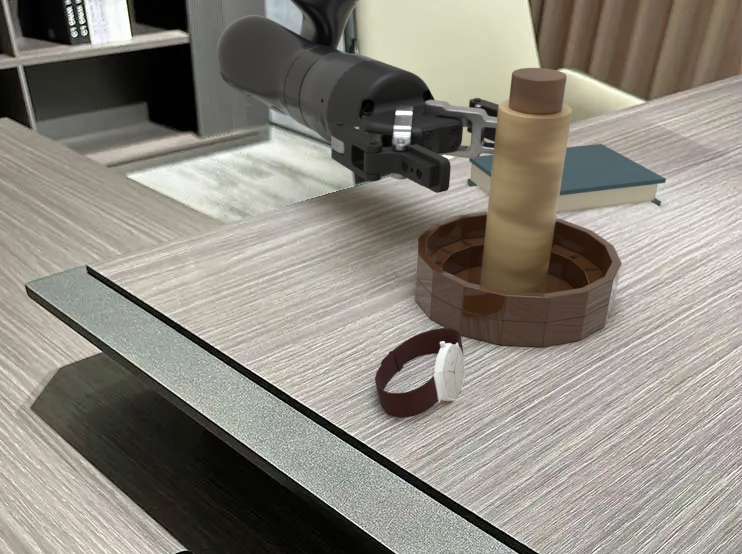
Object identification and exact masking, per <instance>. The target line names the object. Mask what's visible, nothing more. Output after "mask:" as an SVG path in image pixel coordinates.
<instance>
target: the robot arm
mask: <svg viewBox="0 0 742 554" xmlns="http://www.w3.org/2000/svg"><path fill="white" fill-rule="evenodd" d="M290 2H291V3H292V4H293V5H294V6H295V7H296V8H297V9H298V11H300V13H301V16H302V19H301V26H300V31H299V34H298V33H297V32H295V31H294V30H292V29H290V28H288V27H286V26H284V25H283V24H281V23H279V22H277V21H275V20H273V19H271V18H269V17H266V16H265V15H264V16H263V15H259V14H249V15H244V16H242V17H239V18H237V19H235V20H234V21H232V22H231V23H229V25H227V27H226V28H225V29H224V30H223V32H222V33H221V34H220V37H219V39H218V41H217V45H216V50H215V61H216V67H217V71H218V73H219V75H220V76H221V78H222V80H223V81H224V82H225V83H226V85H228V86H229V87H231V88H232V89H234V90H236V91H237V92H239V93H241V94H243V95H245V96H247V97H248V98H251V99H252V100H254V101H256V102H257V103H259V104H261V105H263V106H265V107H267V108H268V109H270V110H272V111H273V112H276V113H278V114H279V115H282V116H285V117H286V116H287V117H289V118H291V119H292V120H294V122H296V123H298V124H300V125H302V126H303V127H305V128H307V129H309V130H311V131H313V132H315V133H317V134H318V135H319V136H320V137H321V138H322V139H324V140H325V141H326V142H328V143H330V145H331V146H330V147H331V148H330V149H331V151H330V153H331V154H330V155H331V156H330V157H331V159H332V160H333V161H335V162H337V163H338V164H340V165H341V166H342V167H345V168H346V169H347V170H349V171H350V172H352V173H353V174H355V175H357V176H359V177H360V178H361V179H363V180H365V181H368V182H378V181H381V180H382V174H390V178H392V179H395V180H401V181H402V180H406V179H408V180H409V181H410V182H414V183H416V184H417V185H419V186H421V187H424V188H426V189H428V190H430V191H432V192H434V193H436V194H439V193H444V192H447V191H448V190H449V189H450V182H451V181H450V180H451V170H452V169H451V168H452V167H451V162H450V160H449V158H448V157H446V156H450V157H456V158H457V157H458V158H466V159H469V158H473V159H475V158H478V157H479V156H481V155H482V154H486V155H493V153H494V144H495V134H496V124H497V115H498V106H499V104H498V103H495V102H492V101H488V100H487V99H482V98H480V97H474V98H471V99H469V103H468V106H460V105H452V104H450V103H449V102H448V101H445V100H437V99H435V97H434V96H433V94H432V92H431V90H430V88H429V86H428V85H427V83H426V81H424V80H423V79H422V78H421V77H420V76H419V75H417V74H415V73H414V72H411V71H409V70H406V69H403V68H401V67H397V66H395V65H391V64H389V63H386V62H384V61H380V60H378V59H374V58H372V57H370V56H366V55H363V54H357V53H349V52H346V51H342V50H340V49H338V48H339V45H340V43H341V39H342V37H343V34H344V32H345V30H346V29H345V28H346V26H347V23H348V21H349V18H350V16H351V14H352V12H353V11H354V9H355V8H356V7H357V4H358V3H360V0H290ZM464 128H466V132H467V133H470V134H471V135H470V136H471V137H470V144H469V145H463V144H462V142H463V132H464ZM485 139H486V140H488V141H491V142H487V141H486V140H485Z"/></svg>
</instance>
